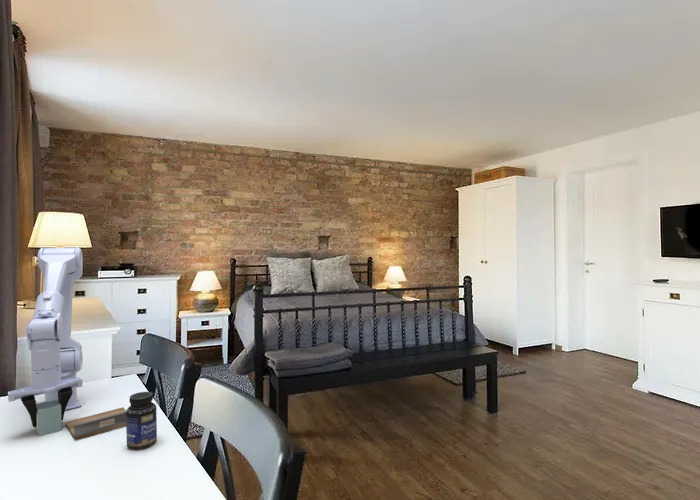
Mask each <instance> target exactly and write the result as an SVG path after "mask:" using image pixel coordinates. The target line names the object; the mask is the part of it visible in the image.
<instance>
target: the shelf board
mask: <svg viewBox="0 0 700 500" xmlns="http://www.w3.org/2000/svg"><path fill="white" fill-rule="evenodd" d="M126 411H127V409H126V408H124V407H118V408H115V409H112V410H108V411H104V412H99V413H97V414H96V413H95V414H92V415H88V416H84V417H79V418H76V419H73V420H68V421H65V427H66V428H67V430H68V432H69V433H70V435H71V436H72V437H73V439H74V441H78V440H82V439H86V438H89V437H91V436H95V435H96V436H97V435H100V434H102V433H106V432H109V431H113V430H117V429H120V428H124V427H126Z"/></svg>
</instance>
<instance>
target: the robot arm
mask: <svg viewBox="0 0 700 500" xmlns="http://www.w3.org/2000/svg"><path fill="white" fill-rule="evenodd" d="M82 251H83V250H82V249H81V248H80V247H79V246H76V247H41V248H40V249H39V250H38V251H37V264H38V265H37V266H38V268H39V270H40V273H41V275H42V276H43V279H44V285H43V292H42V293H40V294H39V295H38V296H37V298H36V302H35V307H34V311H33V316H32V319H31V320H29V321H28V322H27V324H26V325H27V326H26V340H27V343H28V350H29V351H30V356H31V357H30V359H31V360H30V363H31V385H28V386H25V387H21V388H18V389H15V390H11V391H8V392H7V399H8V401H7V402H9V403H11V402H14V401H16V400H20V401H21V403H22V404H23V406H24V407H25V409H26V410H27V413H28V414H29V417H30V421H31V426H32V428H34V429H35V427H37V420H36V403H37V401H36V397H35V396H40V395H44V402H45V401H49V400H54V399H57V400H58V402H59V403H60V405H61V419H62V421H64V415H65V412H66V411H68V410H72V409H77V408H79V407H82V404H81V402H80V401H79V400H78V393H77V392H78V391H77V390H78V389H77V388H81V387H83V383H84V382H83V378H82V377H81V376H80V377H77V373H78V372H80V371H81V370H82V369H83V368H82V367H83V363H84V362H83V360H84V359H83V347H82V344H81V343H80V341H77V340H76V339H73V338H72V316H73V315H72V314H73V290H74V286H75V285H74V284H75V281H76V280H79V279H80V278H81V277H82V274H83V252H82Z"/></svg>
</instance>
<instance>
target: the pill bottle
mask: <svg viewBox="0 0 700 500" xmlns="http://www.w3.org/2000/svg"><path fill="white" fill-rule="evenodd" d="M153 394H154V393H153V392H150V391H140V392H136V393H133V394H131V395H130V396H129V404H130V406H128V408H127V409H126V426H125V427H126V429H125V430H126V433H125V434H126V447H127V448H128V449H130V450H136V451H137V450H138V451H140V450H144V449H147V448H150V447H152V446H154V445H155V444H156V443H157V440H158V439H157V438H158V430H157V429H158V425H157V424H158V423H157V420H158V419H157V405H156V404H155V403H154V402H152V401H153V399H154V395H153Z"/></svg>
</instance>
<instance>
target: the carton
mask: <svg viewBox="0 0 700 500" xmlns="http://www.w3.org/2000/svg"><path fill="white" fill-rule="evenodd" d="M36 420H37V427H34V429H35V431H36V434H37V435H38V437H42V436H45V435H49V434H52V433H57V432H60V431H62V429H63V428H62V427H63V426H62V424H63V423H62V421H63V420H62V419H61V405H60V403H59V402H58V400H57V399H54V400H49V401H45V400H44V401H41V402H36Z"/></svg>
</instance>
